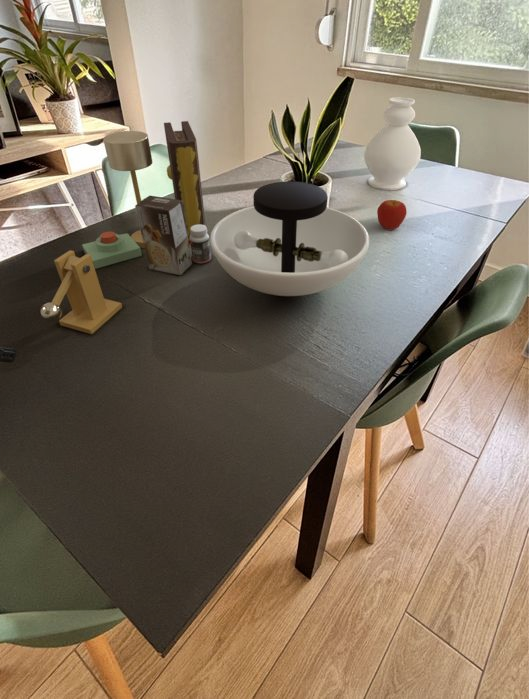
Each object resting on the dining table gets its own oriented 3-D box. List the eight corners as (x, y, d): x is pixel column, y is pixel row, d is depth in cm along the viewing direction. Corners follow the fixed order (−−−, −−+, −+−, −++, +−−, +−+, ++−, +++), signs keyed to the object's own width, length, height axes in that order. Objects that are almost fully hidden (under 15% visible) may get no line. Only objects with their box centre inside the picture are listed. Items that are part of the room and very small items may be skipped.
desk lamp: (135, 253, 110) (110, 145, 93) (123, 238, 116) (97, 135, 99) (171, 243, 114) (154, 138, 97) (157, 229, 120) (138, 128, 103)
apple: (402, 222, 122) (407, 195, 117) (403, 234, 116) (410, 207, 111) (374, 220, 123) (379, 193, 118) (375, 232, 117) (379, 205, 112)
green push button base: (95, 269, 104) (90, 254, 101) (84, 252, 110) (79, 238, 108) (142, 255, 109) (138, 241, 106) (129, 240, 115) (125, 226, 113)
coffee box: (193, 263, 106) (184, 199, 95) (180, 276, 101) (169, 211, 91) (161, 256, 108) (149, 194, 98) (147, 269, 104) (133, 205, 93)
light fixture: (221, 339, 84) (211, 239, 70) (210, 256, 108) (202, 171, 94) (382, 321, 87) (403, 224, 73) (336, 246, 112) (346, 162, 98)
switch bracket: (91, 334, 85) (70, 274, 76) (60, 325, 87) (36, 266, 78) (122, 307, 92) (106, 249, 83) (92, 299, 94) (73, 242, 85)
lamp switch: (60, 326, 80) (47, 318, 76) (45, 322, 81) (32, 314, 77) (91, 266, 83) (80, 256, 80) (76, 262, 84) (65, 252, 81)
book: (211, 241, 115) (202, 141, 98) (180, 245, 113) (164, 144, 97) (200, 208, 131) (190, 118, 114) (172, 211, 129) (158, 120, 113)
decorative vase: (423, 182, 146) (443, 99, 129) (396, 197, 136) (414, 109, 119) (378, 170, 155) (391, 91, 138) (350, 183, 145) (360, 100, 129)
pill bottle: (188, 260, 107) (184, 229, 101) (200, 252, 110) (197, 221, 104) (202, 265, 105) (199, 234, 99) (215, 257, 108) (212, 226, 102)
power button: (104, 245, 105) (102, 239, 104) (100, 240, 108) (98, 233, 107) (118, 242, 107) (117, 235, 106) (114, 236, 109) (112, 230, 108)
